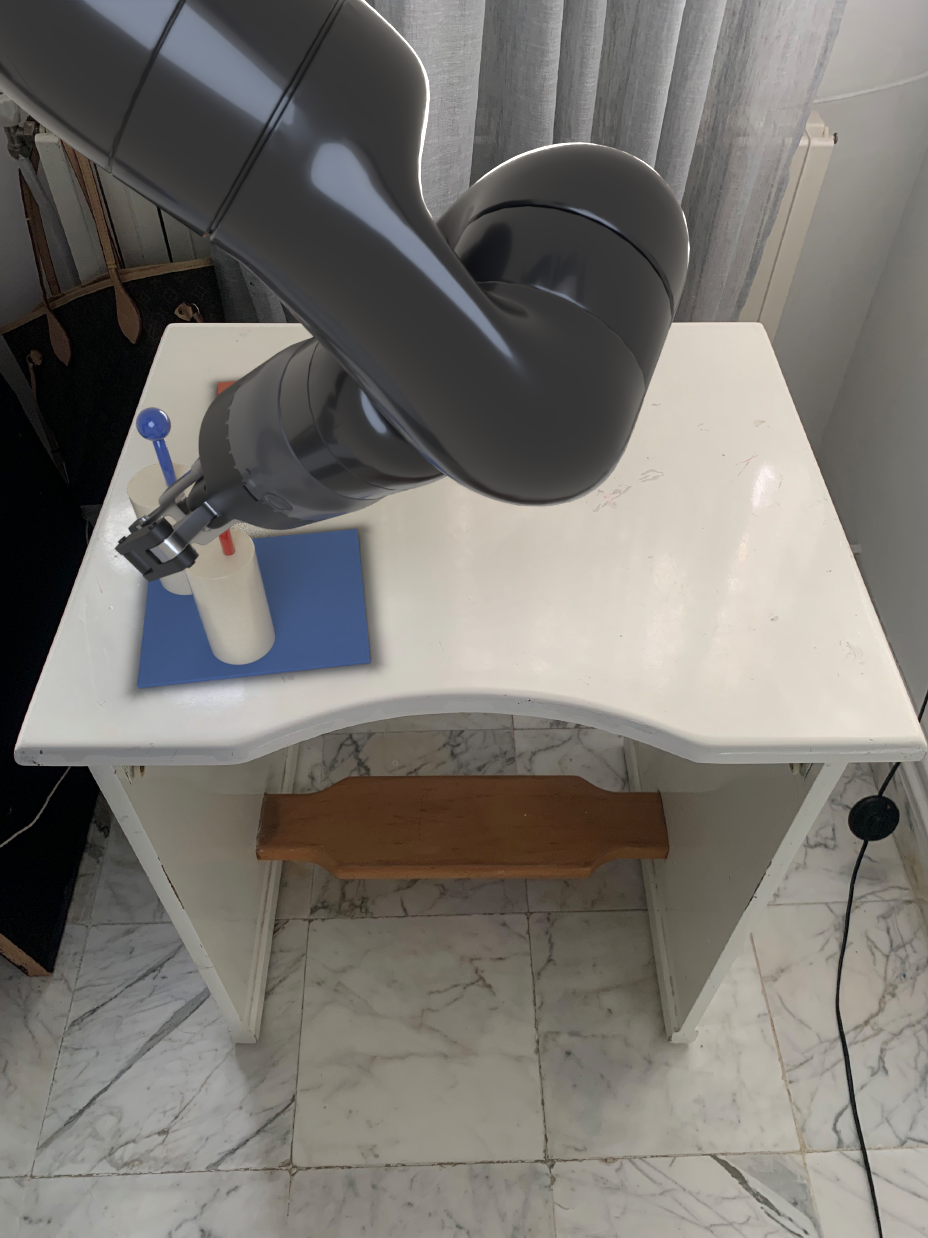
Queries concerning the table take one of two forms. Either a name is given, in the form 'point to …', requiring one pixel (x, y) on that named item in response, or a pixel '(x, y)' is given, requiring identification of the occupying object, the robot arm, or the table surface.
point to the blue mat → (299, 606)
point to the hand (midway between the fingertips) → (194, 490)
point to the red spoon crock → (232, 598)
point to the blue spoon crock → (157, 482)
